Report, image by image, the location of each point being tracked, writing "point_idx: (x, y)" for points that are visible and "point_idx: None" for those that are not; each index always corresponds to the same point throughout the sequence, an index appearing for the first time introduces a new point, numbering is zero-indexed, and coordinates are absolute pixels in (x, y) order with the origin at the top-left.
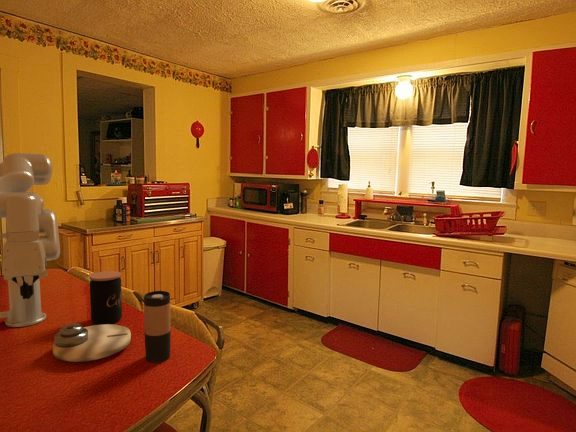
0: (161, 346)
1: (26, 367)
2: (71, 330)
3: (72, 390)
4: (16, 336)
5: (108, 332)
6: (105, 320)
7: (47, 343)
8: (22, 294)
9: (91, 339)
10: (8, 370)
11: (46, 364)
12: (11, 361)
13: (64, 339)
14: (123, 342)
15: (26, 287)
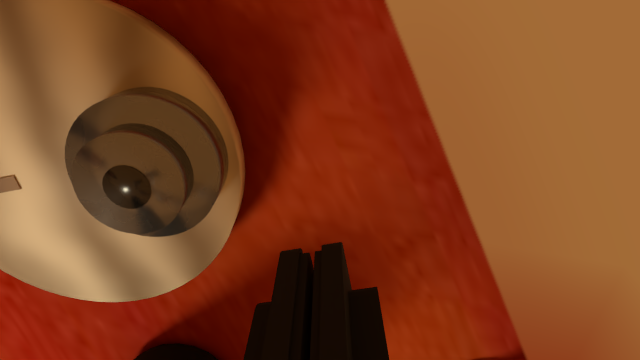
0: None
1: (305, 21)
2: (98, 142)
3: None
4: (460, 298)
5: (38, 223)
6: (155, 357)
7: (318, 228)
8: (340, 273)
9: None
10: (370, 3)
11: (232, 38)
12: (393, 89)
13: (136, 100)
14: None
15: (285, 353)
